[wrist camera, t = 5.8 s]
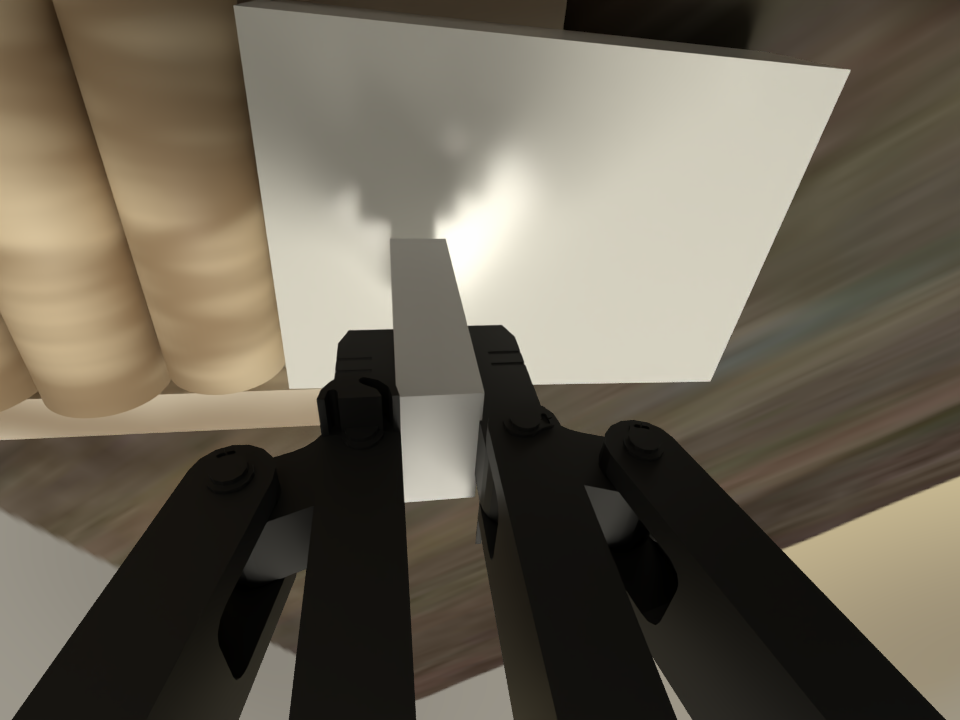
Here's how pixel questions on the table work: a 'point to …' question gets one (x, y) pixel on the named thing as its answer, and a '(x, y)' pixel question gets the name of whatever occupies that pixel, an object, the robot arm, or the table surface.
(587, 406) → the table surface
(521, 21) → the track
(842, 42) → the table surface
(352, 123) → the slab
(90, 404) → the roller mid
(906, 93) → the table surface
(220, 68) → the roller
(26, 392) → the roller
